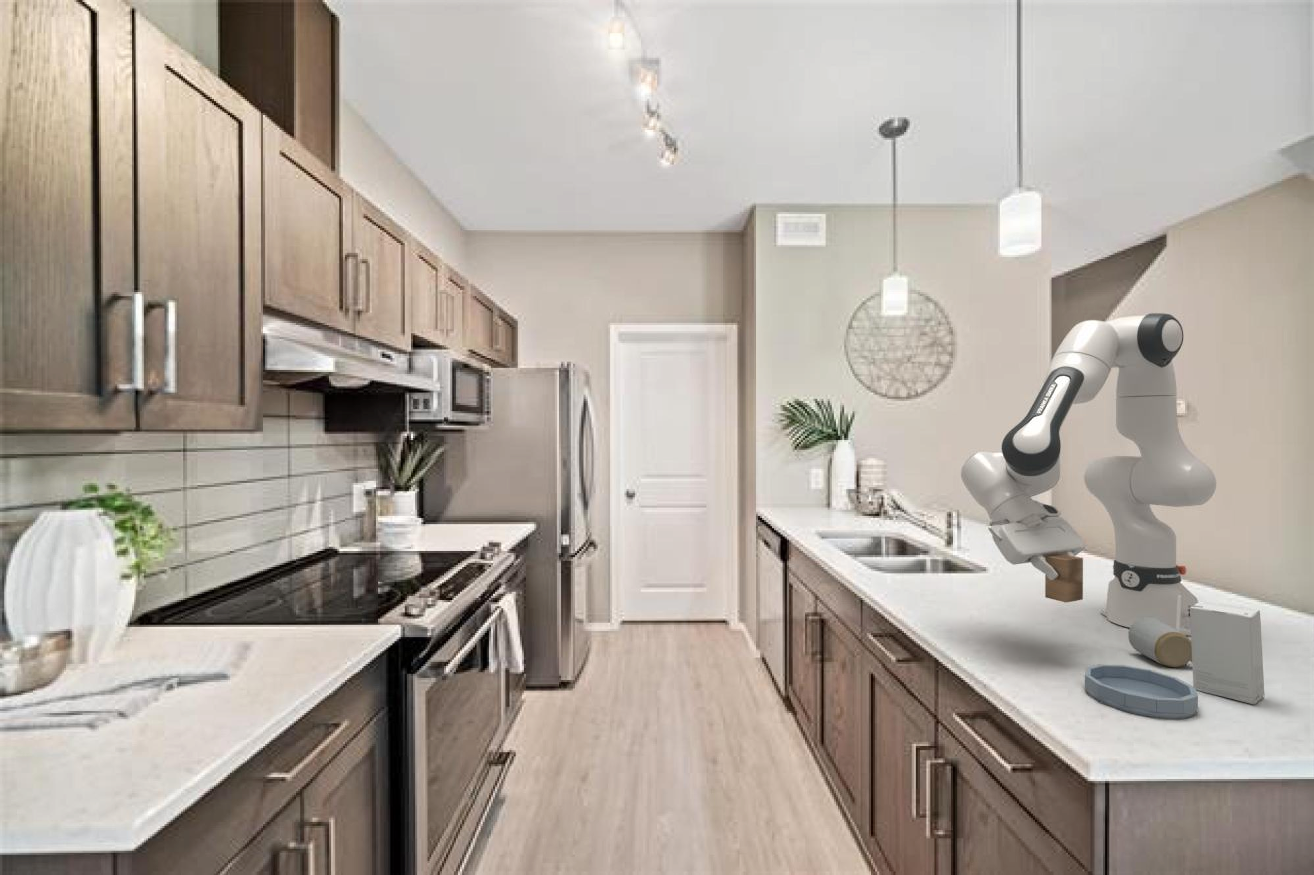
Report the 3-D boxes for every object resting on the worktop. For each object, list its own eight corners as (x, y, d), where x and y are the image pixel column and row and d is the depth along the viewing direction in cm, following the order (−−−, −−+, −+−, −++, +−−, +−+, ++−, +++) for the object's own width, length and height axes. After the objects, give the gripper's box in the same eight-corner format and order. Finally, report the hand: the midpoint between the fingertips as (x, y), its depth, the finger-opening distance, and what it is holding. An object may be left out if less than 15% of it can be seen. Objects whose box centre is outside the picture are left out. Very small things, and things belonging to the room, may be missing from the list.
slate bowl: (1117, 675, 114) (1117, 659, 114) (1216, 708, 101) (1216, 689, 100) (1065, 689, 108) (1065, 672, 108) (1163, 726, 94) (1163, 707, 94)
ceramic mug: (1156, 669, 117) (1156, 628, 117) (1126, 653, 125) (1127, 615, 125) (1216, 671, 116) (1217, 630, 116) (1182, 655, 124) (1183, 617, 124)
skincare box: (1264, 697, 104) (1265, 610, 104) (1253, 706, 101) (1254, 616, 101) (1200, 681, 111) (1201, 599, 111) (1188, 689, 108) (1189, 604, 108)
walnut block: (1061, 594, 122) (1061, 554, 122) (1082, 599, 119) (1083, 557, 119) (1045, 597, 120) (1045, 556, 120) (1066, 602, 117) (1066, 560, 116)
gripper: (994, 512, 121) (1043, 572, 112) (1061, 506, 130) (1111, 562, 121) (974, 531, 125) (1020, 591, 117) (1040, 525, 134) (1088, 579, 125)
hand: (1067, 576), depth 119 cm, fingers closed on walnut block, 5 cm apart
